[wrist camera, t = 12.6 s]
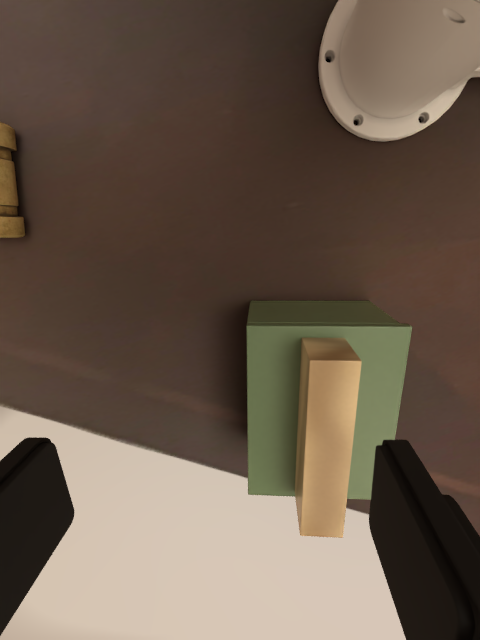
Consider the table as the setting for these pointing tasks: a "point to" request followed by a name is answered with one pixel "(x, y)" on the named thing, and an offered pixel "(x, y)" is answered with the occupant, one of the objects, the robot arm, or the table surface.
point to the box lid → (283, 398)
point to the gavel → (8, 187)
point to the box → (317, 312)
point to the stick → (325, 434)
